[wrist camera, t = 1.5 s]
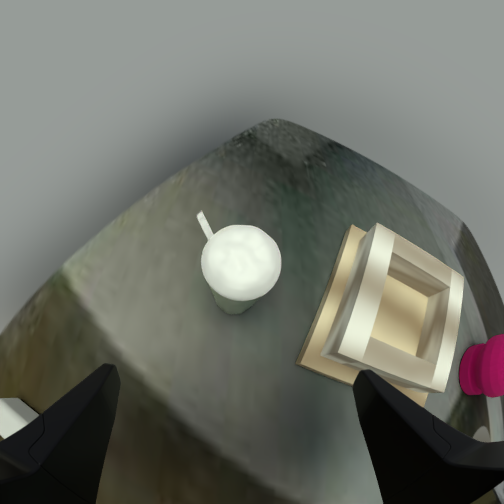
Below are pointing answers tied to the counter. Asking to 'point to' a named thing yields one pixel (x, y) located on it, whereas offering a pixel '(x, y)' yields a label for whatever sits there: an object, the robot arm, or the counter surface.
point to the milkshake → (239, 265)
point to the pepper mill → (484, 368)
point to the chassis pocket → (386, 315)
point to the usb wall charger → (14, 416)
